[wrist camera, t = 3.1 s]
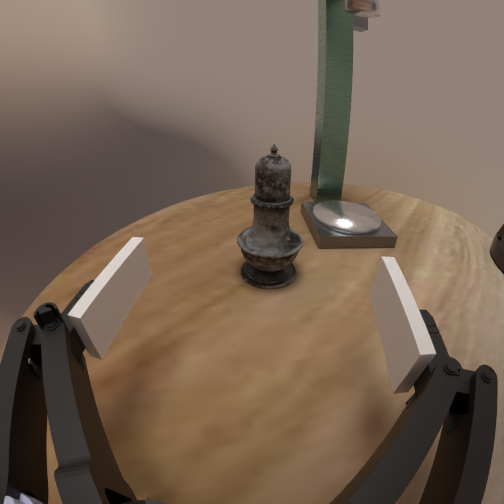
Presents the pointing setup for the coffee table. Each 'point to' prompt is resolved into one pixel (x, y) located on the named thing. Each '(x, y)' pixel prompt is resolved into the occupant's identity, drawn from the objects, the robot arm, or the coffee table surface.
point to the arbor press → (339, 134)
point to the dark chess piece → (270, 227)
